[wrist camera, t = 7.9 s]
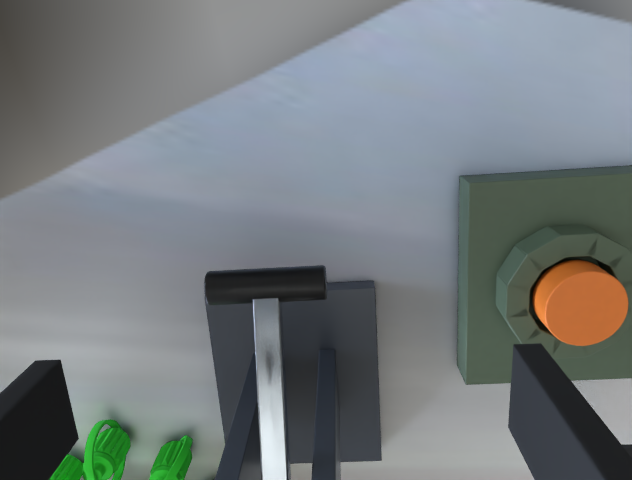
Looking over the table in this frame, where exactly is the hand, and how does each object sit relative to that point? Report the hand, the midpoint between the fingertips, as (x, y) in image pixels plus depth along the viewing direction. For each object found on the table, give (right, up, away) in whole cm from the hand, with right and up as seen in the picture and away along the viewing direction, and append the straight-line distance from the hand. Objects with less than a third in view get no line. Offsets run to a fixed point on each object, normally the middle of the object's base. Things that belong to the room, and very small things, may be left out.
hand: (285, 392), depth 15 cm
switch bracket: (0, -4, +18) cm, 18 cm away
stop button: (+14, +2, +12) cm, 18 cm away
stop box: (+14, +3, +15) cm, 21 cm away
